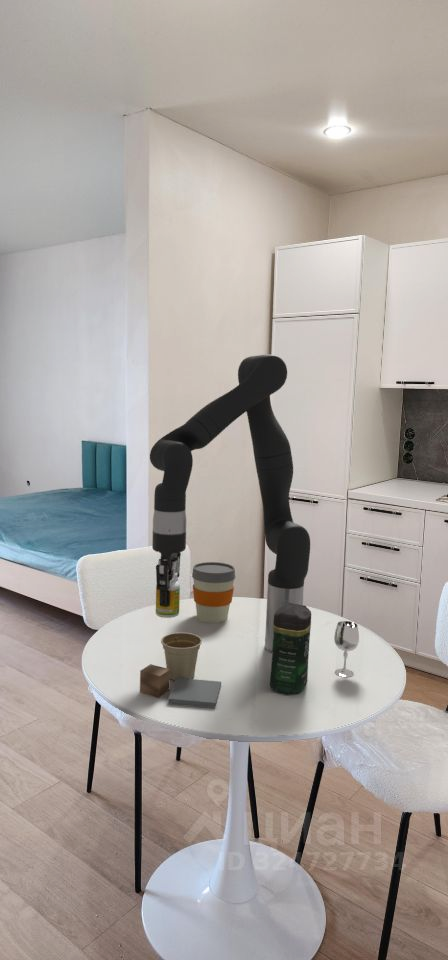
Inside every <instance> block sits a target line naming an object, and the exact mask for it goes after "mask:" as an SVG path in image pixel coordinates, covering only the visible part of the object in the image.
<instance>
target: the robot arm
mask: <svg viewBox="0 0 448 960" xmlns="http://www.w3.org/2000/svg"><path fill="white" fill-rule="evenodd" d="M237 378H238V379H237V381H238V385H237V386H235V387H234V388H232V389H231V390H230V391H228V392H226V393H224V394H222V395H221V396H219V397H217V398H216V399H214V400H213V401H210V402H209V403H207V404H206V405H205V406H203V407H202V408H201V409H199V411H197V412H196V413H195V414H194V415H193V416H192V417H190V419H188V420H187V421H186V422H185V423H184V424H182V425H181V426H179V427H177V428H175V429H173V430H172V431H169V432H168V433H167V434H165V435H163V436H162V437H161V438H159V439H158V440H157V441H156V442H155V443H154V445H152V447H151V449H150V452H149V460H150V462H151V463H150V464H151V465H152V466H153V467H154V468H155V469H157V470H159V471H161V472H163V475H162V476H163V477H162V482H161V483H158V484H156V486H155V488H154V498H153V499H154V500H153V501H154V503H153V504H154V505H153V516H152V517H153V518H152V541H151V542H152V550H153V551H154V552H156V553H159V554H160V558H158V560H157V561H158V562H157V564H156V565H155V569H156V570H155V574H156V575H155V576H156V580H155V581H156V584H157V590H160V606H162V607H169V605H170V589H171V581H172V580H173V579H174V572H176V573H177V580H176V581H177V582H178V580H179V577H180V570H181V569H180V567H181V555H182V554H181V553H183V552H184V551H186V548H187V546H186V545H187V514H186V512H187V511H186V499H187V488H188V485H189V482H190V479H191V474H192V470H193V465H194V464H193V462H194V461H193V460H194V459H193V453H192V451H195V450H200V449H204V448H205V447H206V446H208V445H209V444H210V443H211V442H212V441H214V439H216V438H217V436H219V435H220V434H221V433H222V432H224V430H226V429H227V428H228V427H229V426H230V425H231V424H232V423H233V422H235V421H236V420H237V419H239V417H241V416H242V415H244V413H246V416H247V421H248V427H249V432H250V437H251V442H252V450H253V456H254V463H255V469H256V474H257V479H258V486H259V491H260V496H261V503H262V508H263V510H262V512H263V526H264V527H263V529H264V539H265V543H266V546H267V548H268V549H269V551H270V552H272V553H274V554H275V555H276V557H275V567H274V569H272V570H270V571H269V572H268V575H267V593H266V596H267V597H266V612H265V613H266V617H265V635H264V636H265V637H264V648H265V650H267V651H268V652H270V653H272V648H273V622H274V614H275V613H276V611H277V610H278V609H280V608H281V607H283V606H285V605H287V604H289V603H294V604H299V605H304V592H305V591H304V590H305V588H304V587H305V579H306V577H307V575H308V572H309V564H310V556H311V555H310V553H311V537H310V534H309V531H308V530H307V529H306V528H304V527H303V526H302V525H299V524H297V523H295V522H294V520H293V516H292V512H291V505H290V490H291V488H292V487H291V486H292V481H293V477H294V463H293V462H294V461H293V455H292V448H291V444H290V442H289V438H288V437H287V435H286V433H285V431H284V429H283V428H282V426H281V424H280V423H279V421H278V419H277V417H276V416H275V413H274V411H273V408H272V403H271V397H270V396H271V395H273V394H274V393H277V392H278V391H279V390H280V389H281V388H282V387H283V386H284V385H285V384H286V381H287V379H288V368H287V365H286V362H285V361H284V360H283V359H282V358H281V357H280V356H278V355H275V354H269V353H265V354H259V355H258V354H257V355H251V356H247V357H245V358H244V359H242V361H241V362H240V364H239V365H238V370H237ZM168 575H170V576H168ZM163 581H165V585H163V584H162V583H163Z"/></svg>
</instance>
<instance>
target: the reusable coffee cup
mask: <svg viewBox="0 0 448 960" xmlns="http://www.w3.org/2000/svg"><path fill="white" fill-rule="evenodd" d="M235 568H236V567H234V565H231V564H229V563H225V562H220V561H219V562H216V561H205V562H198V563H196V564H194V566H193V568H192V575H191V577H192V579H193V585H192V590H193V591H192V592H193V601H194V602H195V603H194V604H195V610H196V618H197V619H198V620H199V621H201V622H203V623H204V622H205V623H210V624H211V623H212V624H213V623H215V624H217V623H223V622H225V621H227V620H228V617H229V611H230V607H231V606H230V605H231V604H232V601H233V596H234V591H235V586H234V581H235V579H236V569H235Z"/></svg>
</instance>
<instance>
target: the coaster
mask: <svg viewBox="0 0 448 960" xmlns="http://www.w3.org/2000/svg"><path fill="white" fill-rule="evenodd" d="M221 688H222V681H218V680H216V681H215V680H207V679H205V680H204V679H197V678H196V679H195V678H190V679H185V678H177V679H176V681H175V683H174V685H173V686H172V689H171V692H170V693H169V695H168V698H167V704H168V705H174V706H187V707H197V708H207V709H208V708H209V709H216V707H217V705H218V704H217V703H218V700H219V696H220V692H221Z"/></svg>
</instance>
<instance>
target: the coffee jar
mask: <svg viewBox="0 0 448 960" xmlns="http://www.w3.org/2000/svg"><path fill="white" fill-rule="evenodd" d="M311 626H312V612H311V609H310V608H309V607H307V605H304V604H303V605H299V604H294V603H289V604H287V605H285V606H283V607H281V608H280V609H278V610H277V611H276V613H275V614H274V622H273V648H272V652H271V664H270V665H271V666H270V675H269V676H270V677H269V688H270V689H271V690H273V691H274V692H277V693H279V694H282V695H284V696H285V695H286V696H288V695H300V694H301V693H302V692H303V691H304V690H305V688H306V687H307V685H308V675H309V674H308V672H309V656H310V655H309V654H310V653H309V651H310V639H311V638H310V637H311V628H312V627H311Z"/></svg>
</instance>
